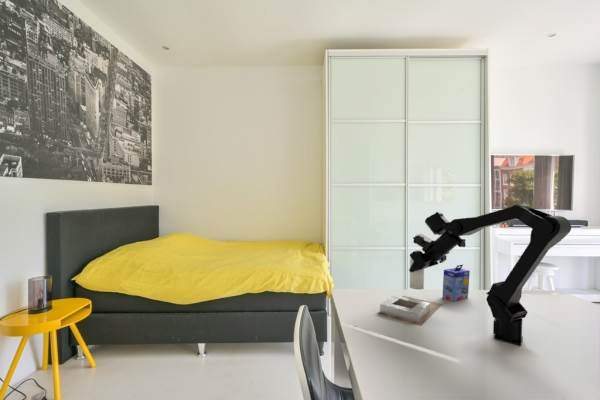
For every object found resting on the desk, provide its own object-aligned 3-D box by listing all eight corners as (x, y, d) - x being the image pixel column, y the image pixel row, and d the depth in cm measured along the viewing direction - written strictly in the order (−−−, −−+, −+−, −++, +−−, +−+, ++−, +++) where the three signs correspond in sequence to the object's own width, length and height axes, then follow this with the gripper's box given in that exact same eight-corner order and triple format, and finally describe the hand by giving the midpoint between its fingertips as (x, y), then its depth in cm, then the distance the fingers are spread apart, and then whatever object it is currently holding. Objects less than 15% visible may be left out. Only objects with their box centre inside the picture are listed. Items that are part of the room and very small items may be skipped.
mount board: (442, 306, 116) (442, 304, 116) (421, 328, 97) (421, 325, 97) (403, 297, 125) (403, 295, 125) (376, 315, 106) (376, 313, 106)
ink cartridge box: (454, 303, 119) (455, 266, 119) (441, 299, 124) (442, 263, 124) (469, 299, 124) (470, 264, 124) (456, 295, 129) (457, 261, 129)
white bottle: (425, 287, 117) (426, 253, 117) (421, 290, 113) (421, 255, 113) (412, 284, 120) (412, 251, 120) (407, 287, 116) (408, 253, 116)
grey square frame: (429, 311, 109) (430, 303, 109) (417, 323, 99) (418, 313, 99) (394, 302, 117) (394, 295, 117) (379, 312, 107) (380, 304, 107)
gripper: (438, 226, 119) (411, 250, 128) (415, 229, 107) (387, 255, 115) (459, 249, 114) (430, 273, 122) (437, 255, 101) (406, 281, 109)
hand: (413, 270), depth 117 cm, fingers closed on white bottle, 5 cm apart
